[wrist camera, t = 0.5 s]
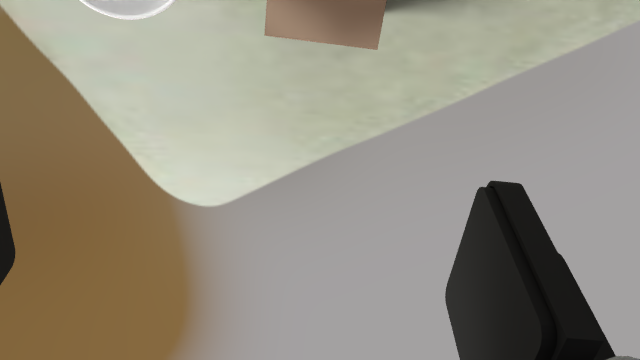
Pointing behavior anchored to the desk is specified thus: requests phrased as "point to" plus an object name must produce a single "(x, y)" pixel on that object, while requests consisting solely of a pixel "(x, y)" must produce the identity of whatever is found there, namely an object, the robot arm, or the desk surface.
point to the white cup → (129, 7)
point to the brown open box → (327, 21)
